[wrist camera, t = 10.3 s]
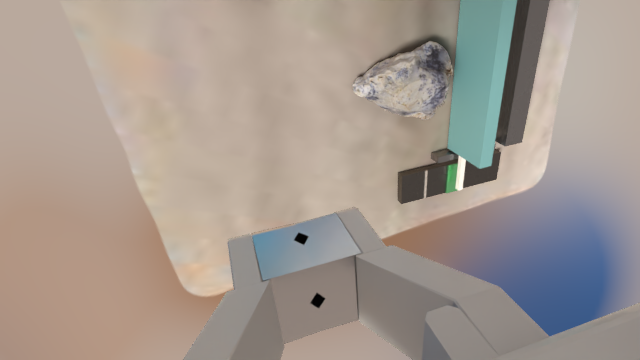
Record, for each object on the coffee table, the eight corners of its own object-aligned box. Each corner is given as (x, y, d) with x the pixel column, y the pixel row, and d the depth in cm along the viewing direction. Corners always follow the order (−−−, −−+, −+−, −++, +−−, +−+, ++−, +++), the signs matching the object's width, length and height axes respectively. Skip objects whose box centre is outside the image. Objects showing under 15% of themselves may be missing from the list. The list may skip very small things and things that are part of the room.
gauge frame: (401, -25, 35) (417, -25, 32) (533, -40, 38) (557, -41, 36) (397, 200, 47) (409, 212, 45) (497, 174, 51) (513, 184, 48)
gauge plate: (462, -18, 37) (505, -17, 32) (475, -19, 37) (520, -19, 32) (444, 183, 48) (474, 206, 43) (454, 180, 48) (485, 203, 43)
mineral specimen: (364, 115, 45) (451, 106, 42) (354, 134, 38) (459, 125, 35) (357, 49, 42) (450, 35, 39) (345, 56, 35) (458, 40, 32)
